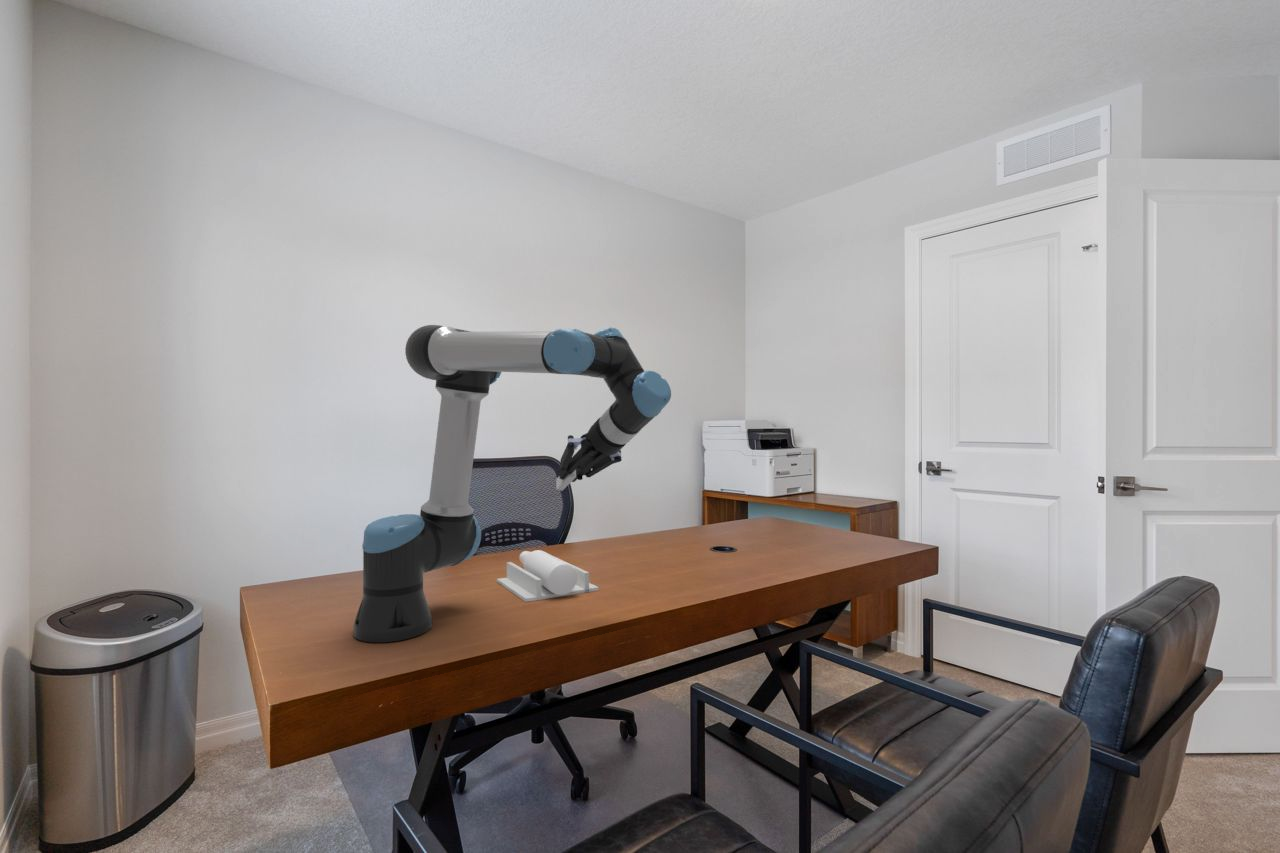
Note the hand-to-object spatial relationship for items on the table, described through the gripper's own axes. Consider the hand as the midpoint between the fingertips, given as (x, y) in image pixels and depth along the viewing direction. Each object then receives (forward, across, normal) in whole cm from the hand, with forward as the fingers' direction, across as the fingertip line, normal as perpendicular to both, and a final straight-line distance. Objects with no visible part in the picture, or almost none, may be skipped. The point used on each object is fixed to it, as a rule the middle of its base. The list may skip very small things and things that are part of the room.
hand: (559, 484), depth 133 cm
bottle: (+23, -13, +12) cm, 29 cm away
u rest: (+36, -15, +8) cm, 40 cm away
